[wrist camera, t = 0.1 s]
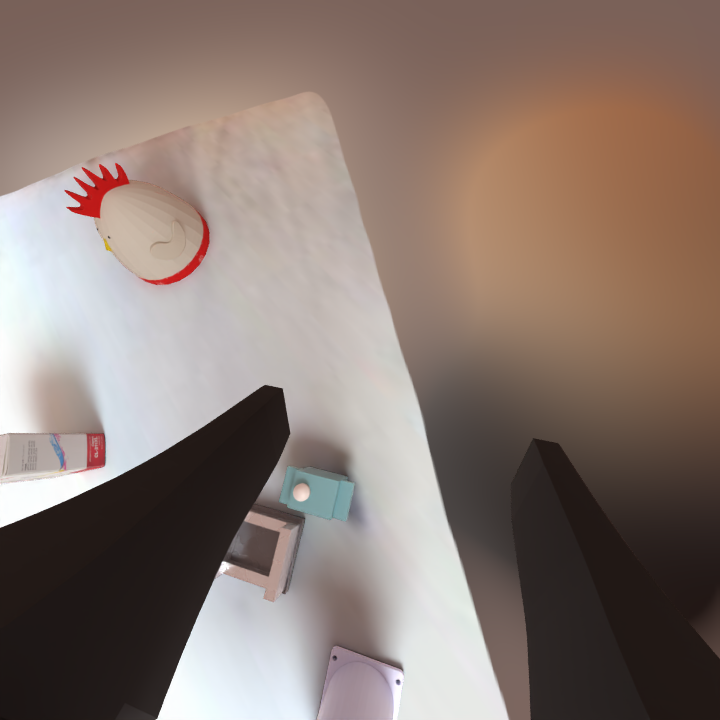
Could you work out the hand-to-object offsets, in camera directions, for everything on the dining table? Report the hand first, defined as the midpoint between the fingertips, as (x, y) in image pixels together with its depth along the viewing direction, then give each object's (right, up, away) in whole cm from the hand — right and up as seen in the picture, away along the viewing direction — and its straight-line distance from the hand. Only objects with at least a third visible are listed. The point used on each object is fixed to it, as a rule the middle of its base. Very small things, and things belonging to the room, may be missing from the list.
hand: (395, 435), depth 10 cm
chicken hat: (-32, +21, +44) cm, 58 cm away
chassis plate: (-13, -20, +31) cm, 39 cm away
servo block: (-5, -14, +31) cm, 34 cm away
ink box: (-41, -12, +37) cm, 57 cm away
